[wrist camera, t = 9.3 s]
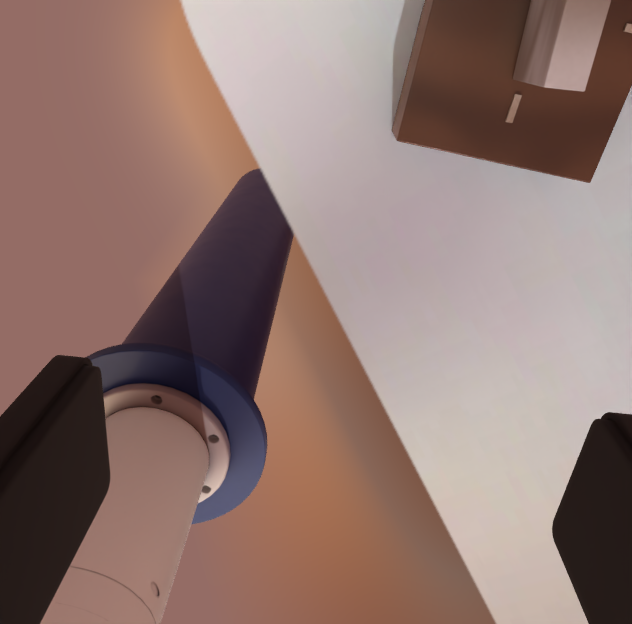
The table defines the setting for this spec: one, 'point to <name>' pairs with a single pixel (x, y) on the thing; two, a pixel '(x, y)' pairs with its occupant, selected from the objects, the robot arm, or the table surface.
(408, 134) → the tap base
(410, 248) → the table surface
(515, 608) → the table surface
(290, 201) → the table surface
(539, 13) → the tap handle
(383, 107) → the table surface
